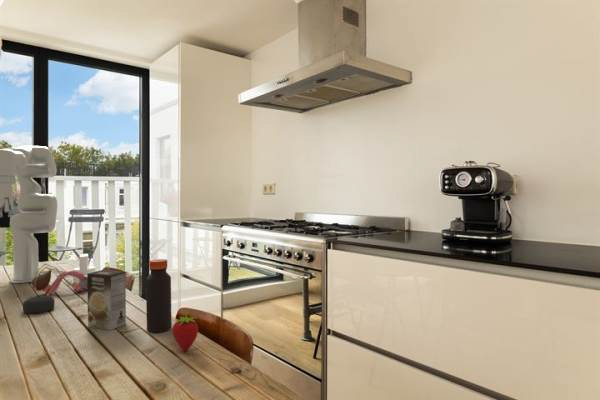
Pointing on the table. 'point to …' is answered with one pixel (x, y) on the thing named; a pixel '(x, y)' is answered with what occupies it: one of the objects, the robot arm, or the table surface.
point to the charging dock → (83, 282)
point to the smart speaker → (38, 305)
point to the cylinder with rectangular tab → (83, 266)
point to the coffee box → (106, 299)
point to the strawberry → (185, 332)
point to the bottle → (158, 297)
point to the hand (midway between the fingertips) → (4, 227)
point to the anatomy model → (43, 281)
